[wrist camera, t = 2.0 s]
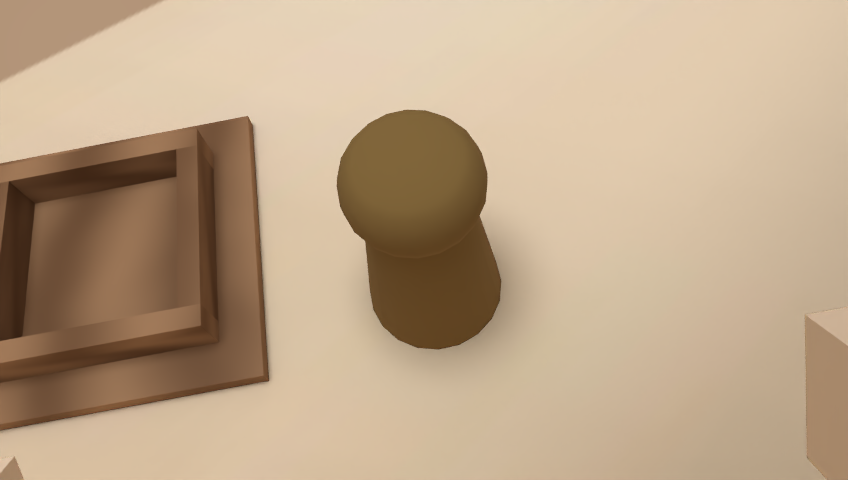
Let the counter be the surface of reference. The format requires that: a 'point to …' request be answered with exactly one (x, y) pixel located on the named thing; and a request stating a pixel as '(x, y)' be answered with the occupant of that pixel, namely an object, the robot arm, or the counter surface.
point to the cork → (422, 226)
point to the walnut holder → (130, 273)
